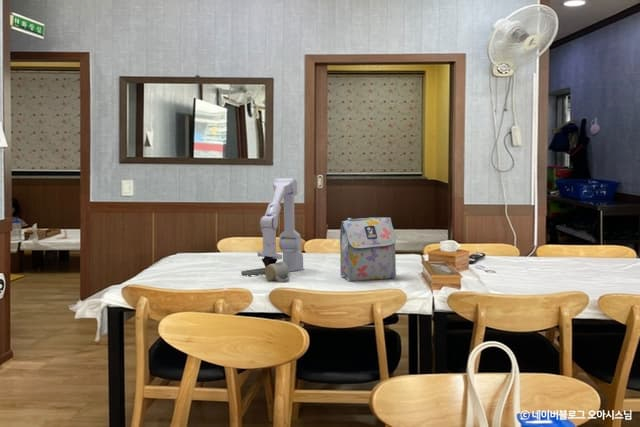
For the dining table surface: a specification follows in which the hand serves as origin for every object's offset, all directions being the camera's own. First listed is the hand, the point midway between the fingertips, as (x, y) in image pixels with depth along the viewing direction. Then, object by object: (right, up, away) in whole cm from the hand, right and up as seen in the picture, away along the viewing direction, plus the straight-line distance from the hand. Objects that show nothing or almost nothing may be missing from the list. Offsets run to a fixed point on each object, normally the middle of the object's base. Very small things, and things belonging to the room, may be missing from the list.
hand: (269, 274), depth 309 cm
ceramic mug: (+4, -3, -5) cm, 7 cm away
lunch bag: (+43, -2, -1) cm, 43 cm away
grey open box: (-5, -1, +15) cm, 16 cm away
